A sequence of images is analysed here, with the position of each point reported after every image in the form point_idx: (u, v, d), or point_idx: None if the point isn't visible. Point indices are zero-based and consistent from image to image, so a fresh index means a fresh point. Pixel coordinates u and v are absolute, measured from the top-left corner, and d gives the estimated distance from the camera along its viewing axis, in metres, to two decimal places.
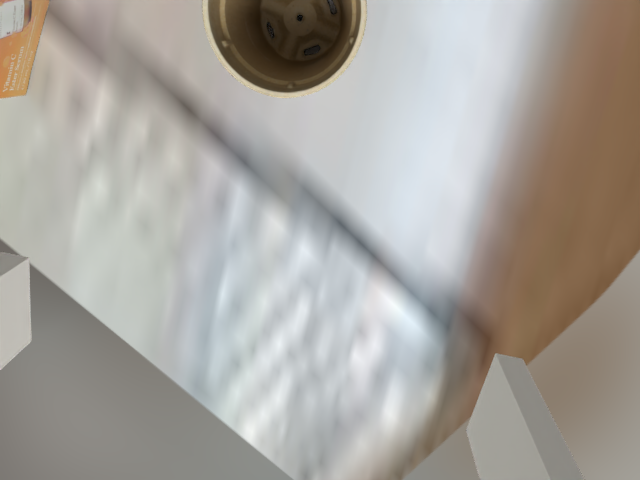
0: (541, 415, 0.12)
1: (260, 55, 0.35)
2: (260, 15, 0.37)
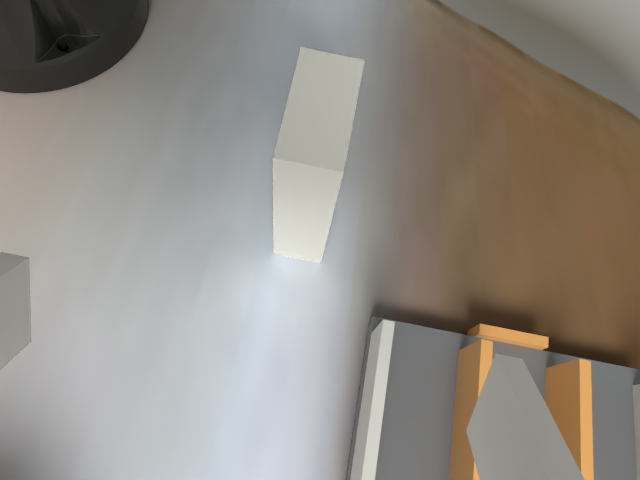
0: (541, 415, 0.12)
1: None
2: None
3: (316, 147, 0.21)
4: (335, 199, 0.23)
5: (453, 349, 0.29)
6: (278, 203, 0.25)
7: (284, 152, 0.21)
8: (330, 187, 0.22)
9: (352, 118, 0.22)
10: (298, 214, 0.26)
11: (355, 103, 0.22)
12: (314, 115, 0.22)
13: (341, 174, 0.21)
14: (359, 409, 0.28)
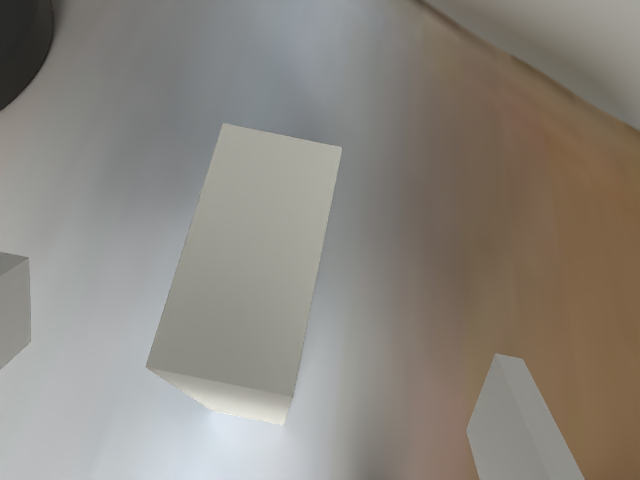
0: (541, 415, 0.12)
1: None
2: None
3: (239, 338, 0.10)
4: (286, 407, 0.12)
5: None
6: (191, 392, 0.14)
7: (172, 353, 0.10)
8: (272, 400, 0.12)
9: (315, 270, 0.11)
10: (229, 402, 0.15)
11: (322, 237, 0.12)
12: (239, 265, 0.11)
13: (289, 397, 0.10)
14: None
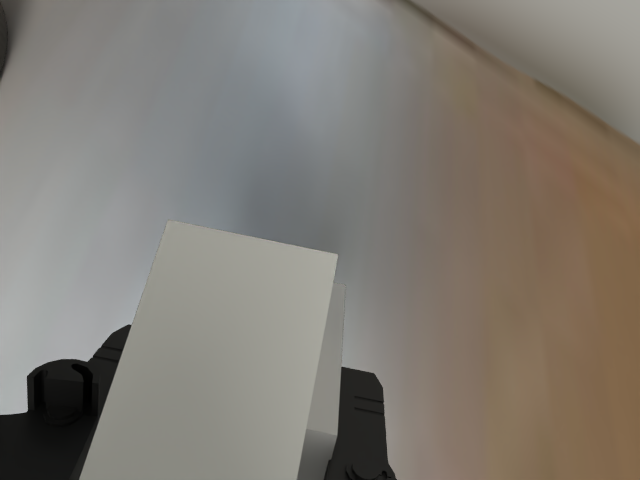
0: (333, 321, 0.14)
1: None
2: None
3: None
4: None
5: None
6: None
7: None
8: None
9: (296, 458, 0.07)
10: None
11: (307, 401, 0.08)
12: (182, 451, 0.07)
13: None
14: None
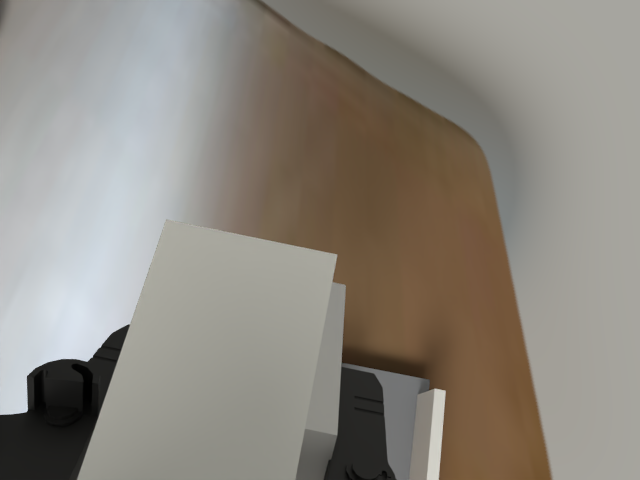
0: (333, 321, 0.14)
1: None
2: None
3: None
4: None
5: None
6: None
7: None
8: None
9: (295, 459, 0.07)
10: None
11: (306, 402, 0.08)
12: (180, 452, 0.07)
13: None
14: None
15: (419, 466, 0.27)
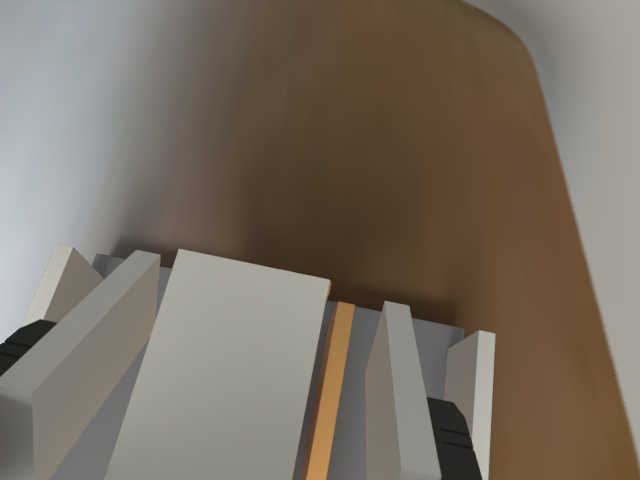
0: (407, 346, 0.13)
1: None
2: None
3: None
4: None
5: None
6: None
7: None
8: None
9: (292, 460, 0.09)
10: None
11: (302, 410, 0.09)
12: (193, 454, 0.09)
13: None
14: None
15: None
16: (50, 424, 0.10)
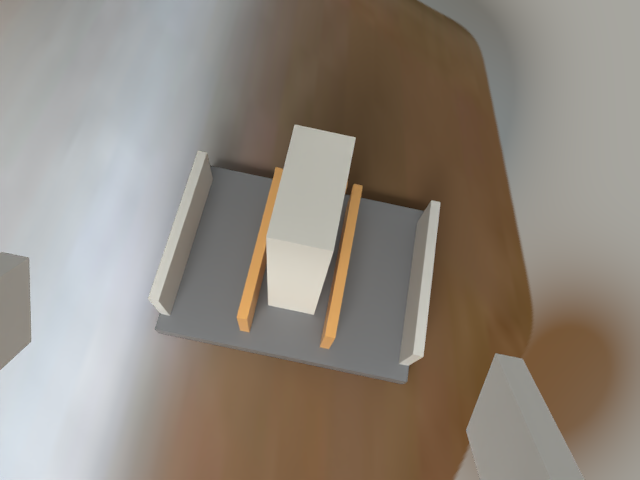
0: (541, 415, 0.12)
1: None
2: None
3: (307, 226, 0.22)
4: (326, 270, 0.24)
5: None
6: (272, 269, 0.26)
7: (277, 231, 0.22)
8: (321, 261, 0.24)
9: (342, 196, 0.23)
10: (291, 278, 0.27)
11: (346, 181, 0.23)
12: (306, 193, 0.23)
13: (331, 252, 0.22)
14: None
15: (417, 264, 0.33)
16: None
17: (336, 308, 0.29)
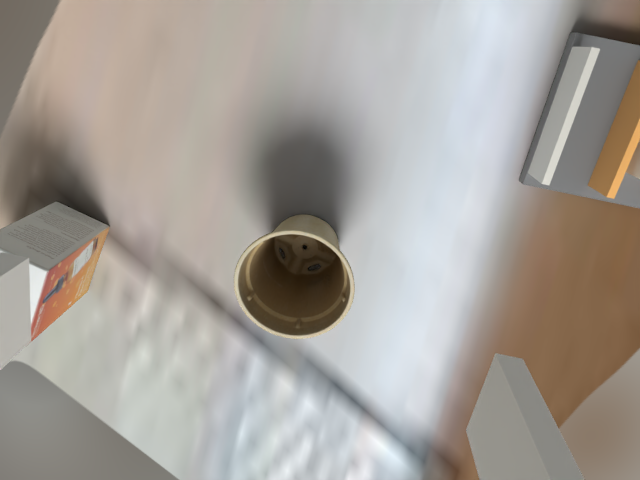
0: (541, 415, 0.12)
1: (275, 284, 0.45)
2: (274, 243, 0.47)
3: None
4: None
5: (634, 59, 0.39)
6: None
7: None
8: None
9: None
10: None
11: None
12: None
13: None
14: (551, 102, 0.40)
15: None
16: None
17: None
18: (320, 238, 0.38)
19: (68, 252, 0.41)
